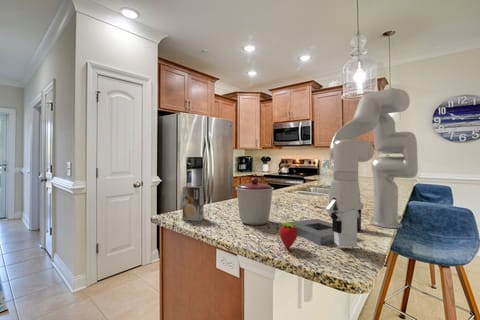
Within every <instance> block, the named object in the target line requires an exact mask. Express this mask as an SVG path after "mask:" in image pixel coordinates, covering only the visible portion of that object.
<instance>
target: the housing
mask: <svg viewBox="0 0 480 320" xmlns="http://www.w3.org/2000/svg"><path fill="white" fill-rule="evenodd" d="M286 223H292V224H294V225H297V226H294V227H295V228H296V229H297V233H298V234H297V237H298V236H299V237H301V238H303V239H306V240H307V241H310V242H313V243H314V244H317V245H319V246H324V245H329V244H336V243H335V242H334V231H332V222H329V221H326V220H323V219H319V218H313V219H305V220H296V221H289V222H288V221H287V222H286Z"/></svg>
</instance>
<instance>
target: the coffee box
mask: <svg viewBox="0 0 480 320" xmlns="http://www.w3.org/2000/svg"><path fill="white" fill-rule="evenodd" d="M204 187H205V186H195V185H193V186H192V185H187V186H184V187H182V221H188V220H190V221H191V222H192V221H194V222H195V221H197V222H201V221H202V220H204V219H205V218H204V198H205V197H204V191H205V189H204ZM190 221H189V222H190Z"/></svg>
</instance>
